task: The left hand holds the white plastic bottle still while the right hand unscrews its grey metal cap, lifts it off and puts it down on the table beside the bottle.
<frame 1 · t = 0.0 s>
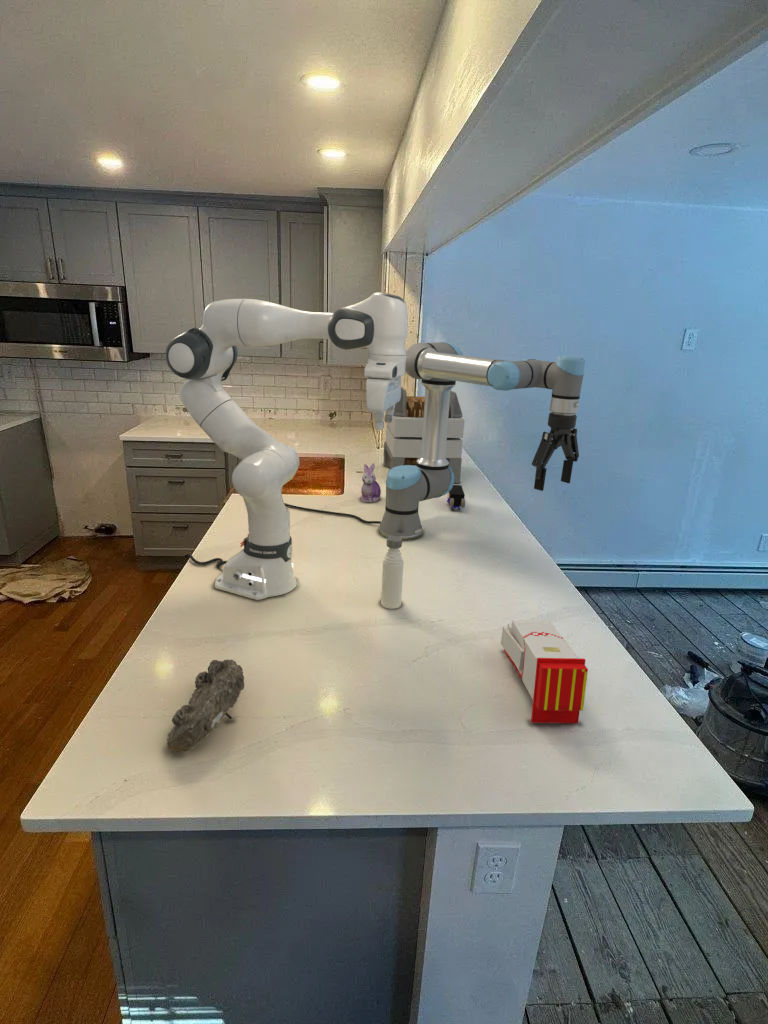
left hand: (384, 425, 137), 48 cm above the counter, tool pointing down, fingers open, 8 cm apart
right hand: (552, 485, 166), 28 cm above the counter, tool pointing down, fingers open, 13 cm apart
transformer: (419, 473, 275), on the counter
fossil: (212, 717, 108), on the counter
figurine: (370, 499, 234), on the counter
toy: (534, 680, 123), on the counter
bottle: (391, 603, 153), on the counter
cap: (394, 539, 146), point 19 cm above the counter, screwed on, not yet turned
figurine character: (454, 506, 230), on the counter
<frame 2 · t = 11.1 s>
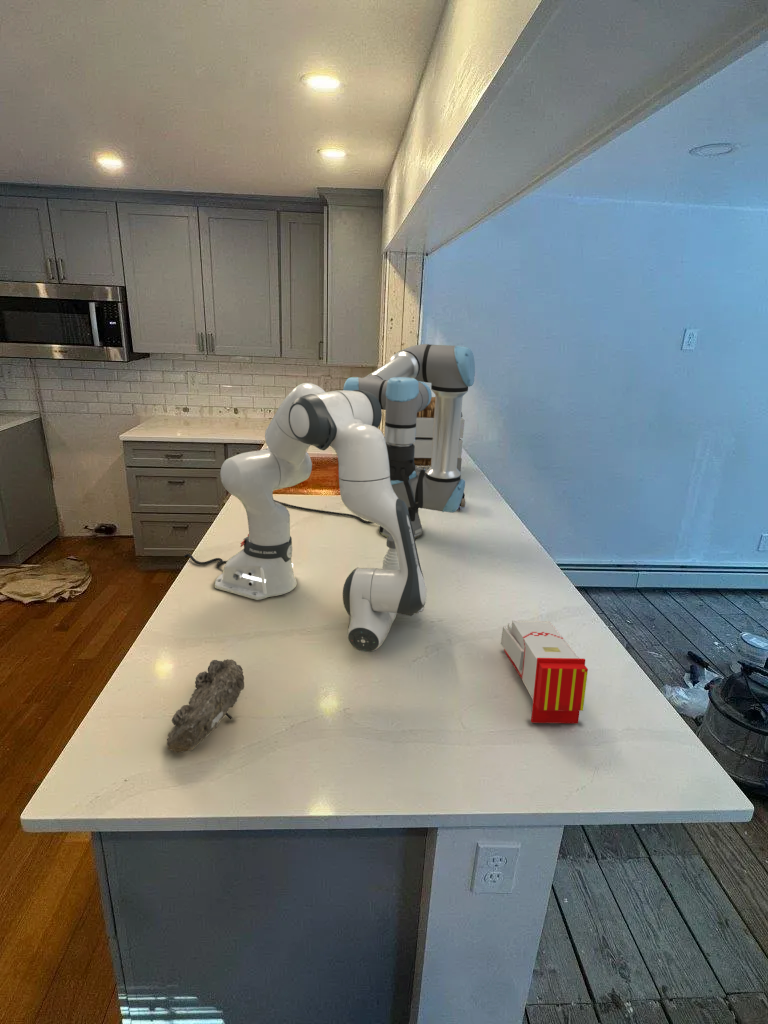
left hand: (392, 582, 151), 6 cm above the counter, tool horizontal, fingers closed on bottle, 5 cm apart
right hand: (394, 531, 145), 21 cm above the counter, tool pointing down, fingers open, 6 cm apart
bottle: (391, 603, 152), on the counter, touching left hand
everything else where it was.
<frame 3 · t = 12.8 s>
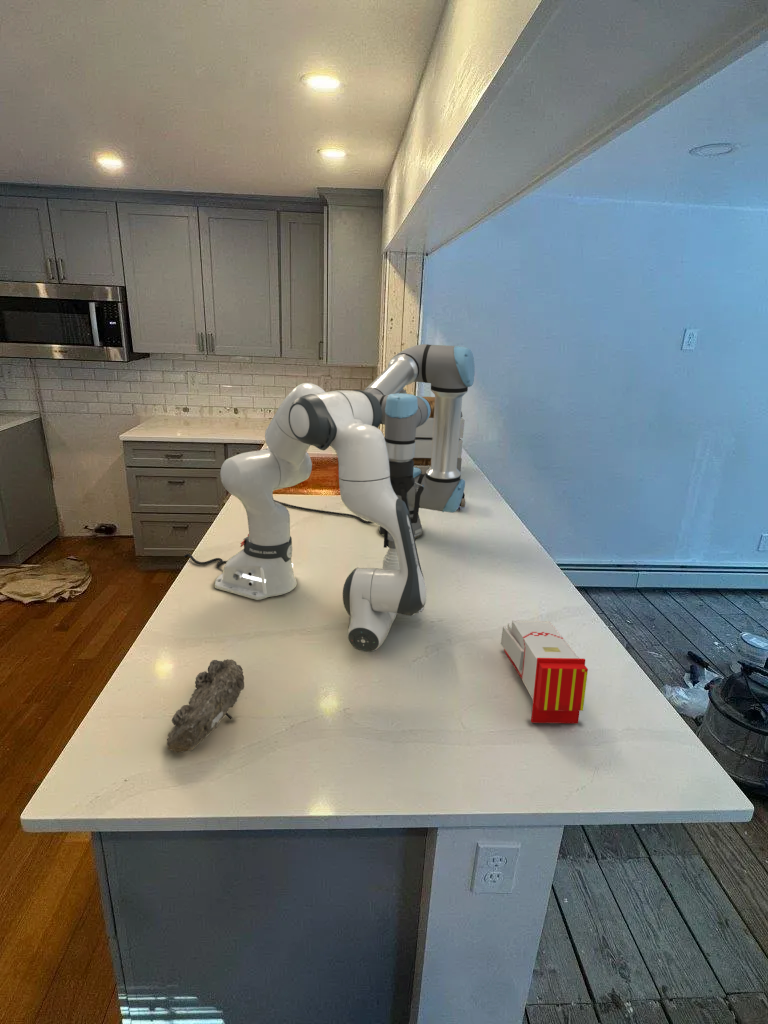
left hand: (392, 582, 151), 6 cm above the counter, tool horizontal, fingers closed on bottle, 5 cm apart
right hand: (394, 546, 147), 17 cm above the counter, tool pointing down, fingers closed on cap, 4 cm apart
bottle: (391, 603, 152), on the counter, touching left hand
cap: (394, 539, 146), point 19 cm above the counter, screwed on, not yet turned, touching right hand
everything else where it was.
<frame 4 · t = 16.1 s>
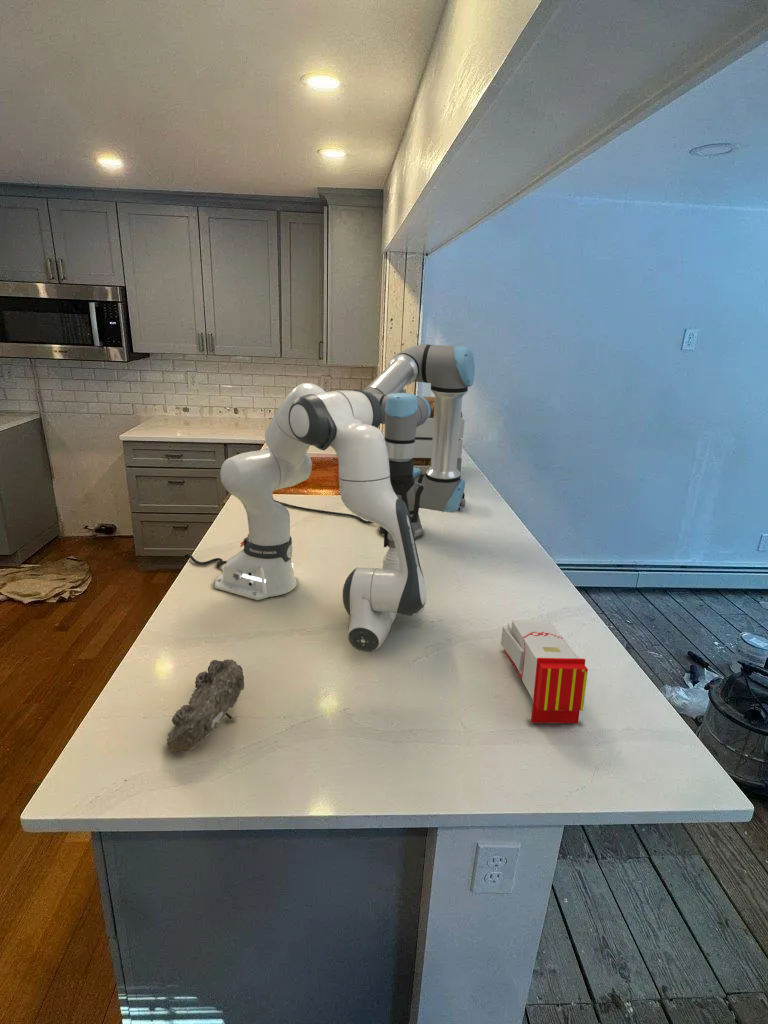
left hand: (392, 582, 151), 6 cm above the counter, tool horizontal, fingers closed on bottle, 5 cm apart
right hand: (394, 545, 147), 17 cm above the counter, tool pointing down, fingers closed on cap, 4 cm apart
bottle: (391, 603, 152), on the counter, touching left hand
cap: (394, 539, 146), point 19 cm above the counter, turned 122° so far, risen 0.1 cm, still on its thread, touching right hand
everything else where it was.
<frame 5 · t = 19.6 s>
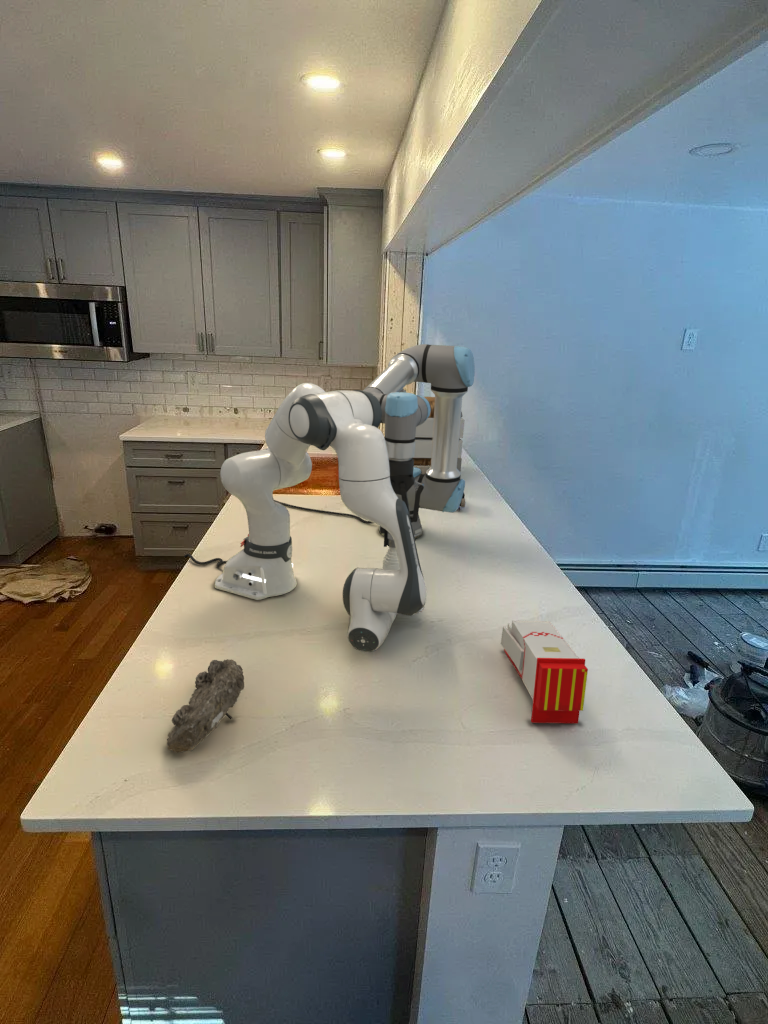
left hand: (392, 582, 151), 6 cm above the counter, tool horizontal, fingers closed on bottle, 5 cm apart
right hand: (394, 545, 147), 17 cm above the counter, tool pointing down, fingers closed on cap, 4 cm apart
bottle: (391, 603, 152), on the counter, touching left hand
cap: (394, 538, 146), point 19 cm above the counter, turned 245° so far, risen 0.3 cm, still on its thread, touching right hand
everything else where it was.
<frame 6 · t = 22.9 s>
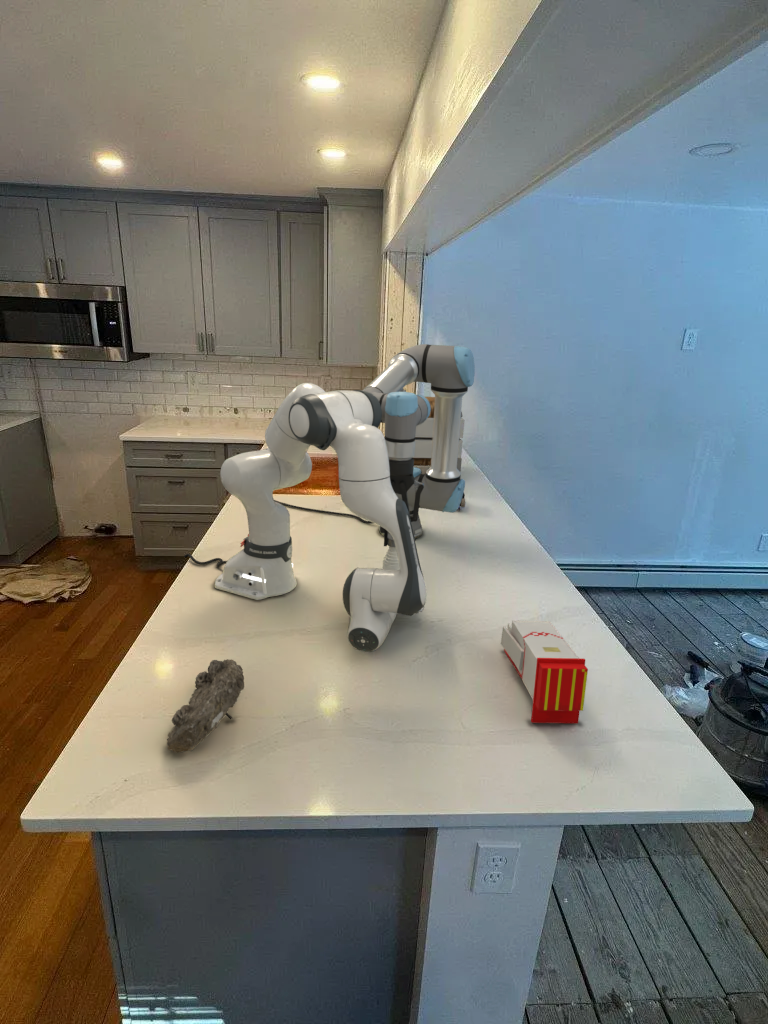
left hand: (392, 582, 151), 6 cm above the counter, tool horizontal, fingers closed on bottle, 5 cm apart
right hand: (394, 544, 147), 17 cm above the counter, tool pointing down, fingers closed on cap, 4 cm apart
bottle: (391, 603, 152), on the counter, touching left hand
cap: (394, 538, 146), point 19 cm above the counter, turned 367° so far, risen 0.4 cm, still on its thread, touching right hand
everything else where it was.
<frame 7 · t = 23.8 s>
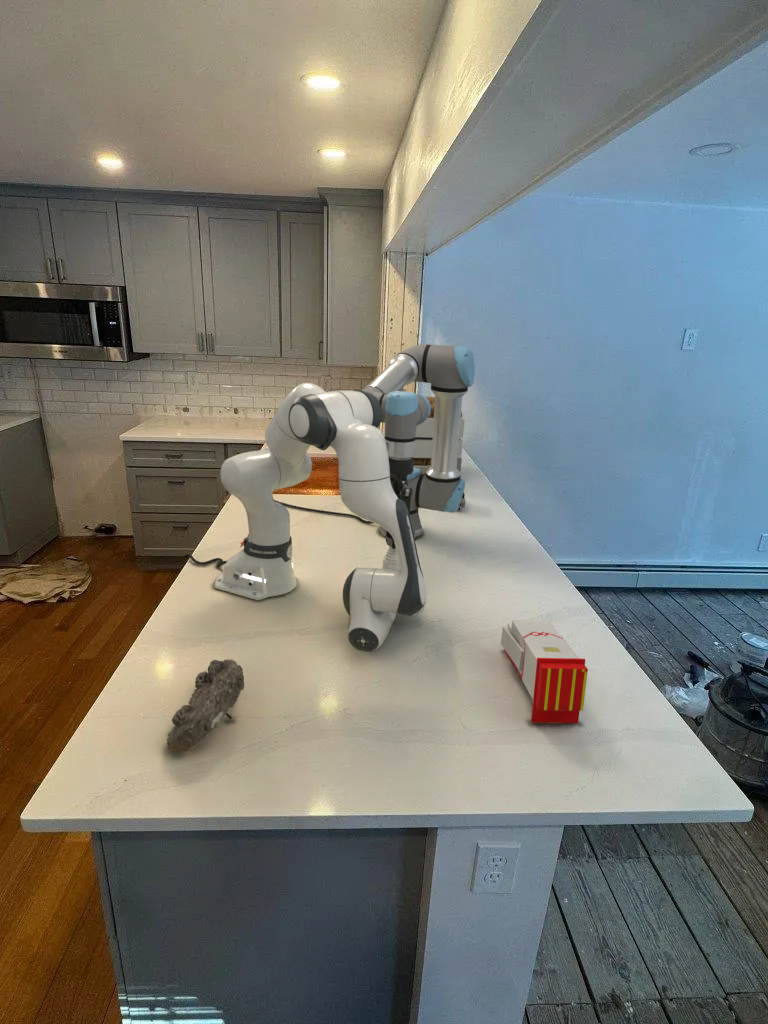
left hand: (392, 582, 151), 6 cm above the counter, tool horizontal, fingers closed on bottle, 5 cm apart
right hand: (394, 544, 147), 17 cm above the counter, tool pointing down, fingers closed on cap, 4 cm apart
bottle: (391, 603, 152), on the counter, touching left hand
cap: (394, 537, 146), point 19 cm above the counter, off its thread, touching right hand
everything else where it was.
when the right hand's fingers open (1 cm above the counter, at t = 29.5 s): cap drops 1 cm, point 2 cm above the counter.
when the left hand's fingers open (6 cm above the counter, at t = 30.9 s): bottle stays where it is, on the counter.
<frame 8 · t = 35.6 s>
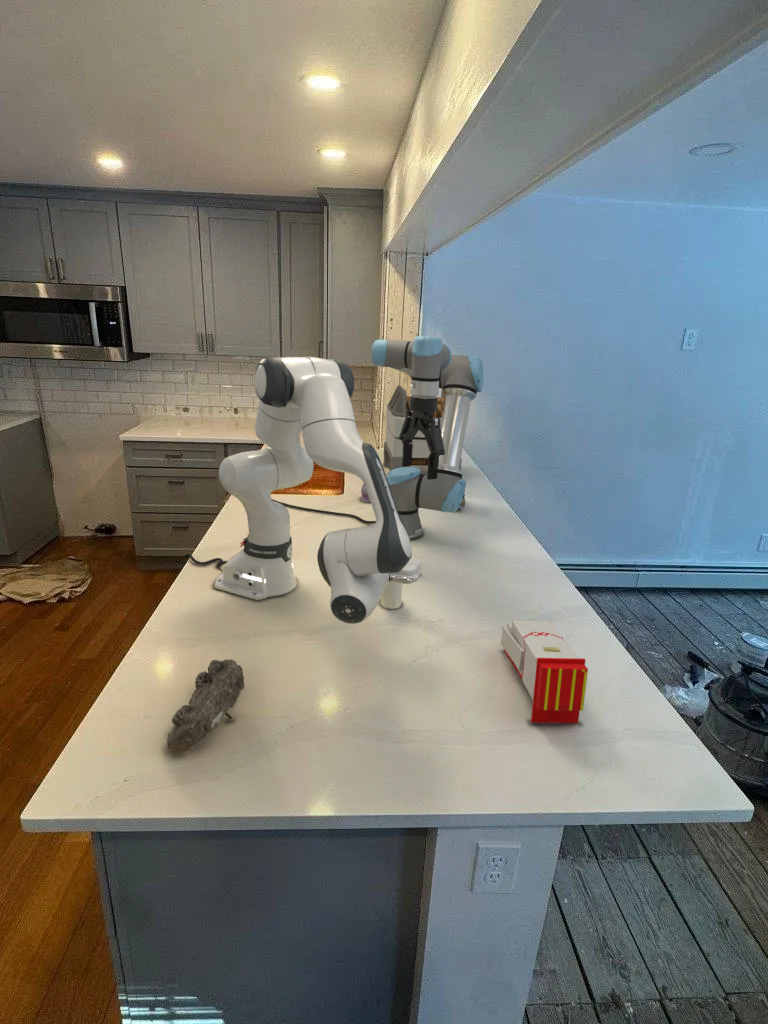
left hand: (384, 551, 135), 20 cm above the counter, tool horizontal, fingers open, 8 cm apart
right hand: (419, 472, 160), 32 cm above the counter, tool pointing down, fingers open, 13 cm apart
bottle: (391, 603, 152), on the counter
cap: (412, 568, 170), point 2 cm above the counter, off its thread
everything else where it was.
at the end: cap came off its thread; cap point 1.7 cm above the counter; the left hand is holding nothing; the right hand is holding nothing; bottle tilted 0°; bottle moved 0.0 cm from its start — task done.
